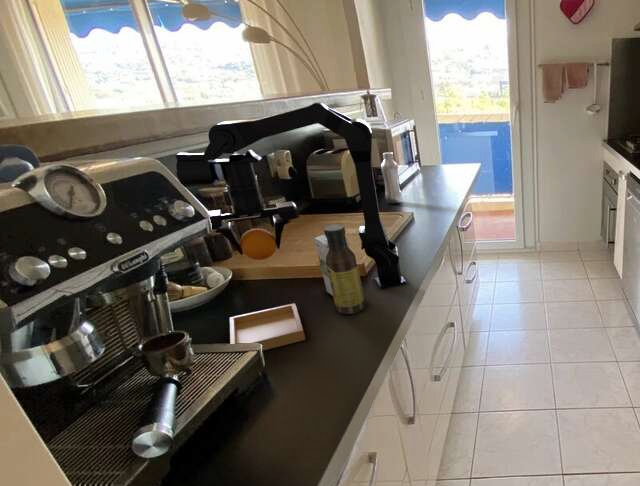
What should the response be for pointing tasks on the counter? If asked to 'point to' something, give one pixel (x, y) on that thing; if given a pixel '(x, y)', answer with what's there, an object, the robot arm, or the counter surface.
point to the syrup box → (324, 259)
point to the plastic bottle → (391, 179)
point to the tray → (268, 327)
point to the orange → (258, 244)
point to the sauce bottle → (343, 272)
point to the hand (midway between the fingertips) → (260, 251)
